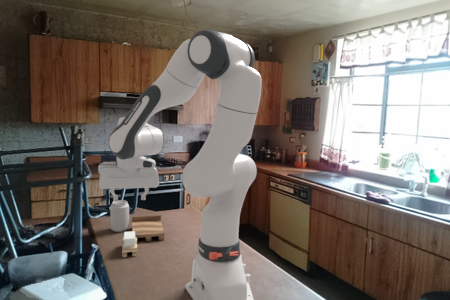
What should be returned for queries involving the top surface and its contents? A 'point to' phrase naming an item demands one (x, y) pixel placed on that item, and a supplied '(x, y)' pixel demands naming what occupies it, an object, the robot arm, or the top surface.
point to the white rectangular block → (129, 239)
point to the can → (119, 216)
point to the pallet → (129, 249)
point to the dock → (148, 227)
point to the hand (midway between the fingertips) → (129, 200)
